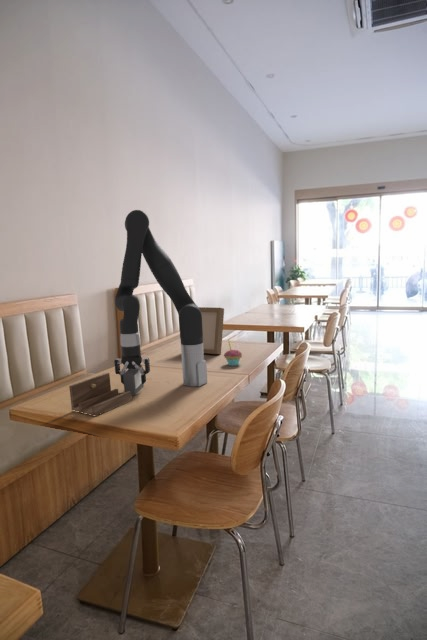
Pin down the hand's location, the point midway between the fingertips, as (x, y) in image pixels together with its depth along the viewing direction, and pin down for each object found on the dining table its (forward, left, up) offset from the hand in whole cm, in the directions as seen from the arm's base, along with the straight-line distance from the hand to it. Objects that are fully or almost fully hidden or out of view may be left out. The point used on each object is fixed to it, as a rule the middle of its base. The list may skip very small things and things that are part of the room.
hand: (133, 383), depth 170 cm
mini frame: (0, 0, -3) cm, 3 cm away
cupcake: (-17, -51, -3) cm, 54 cm away
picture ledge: (-1, +18, -3) cm, 18 cm away
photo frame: (+11, -70, -3) cm, 71 cm away
